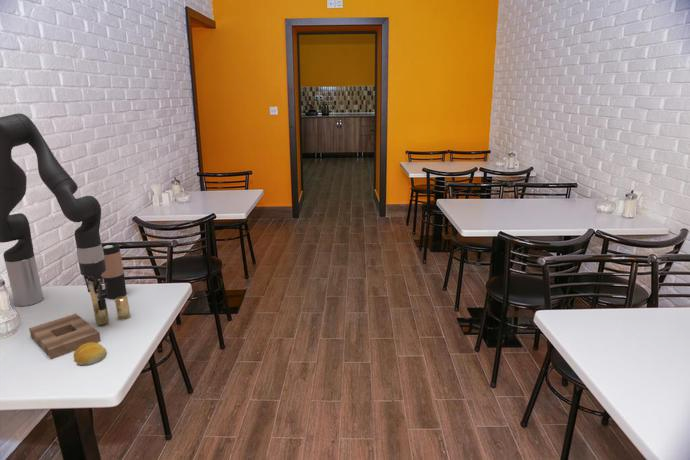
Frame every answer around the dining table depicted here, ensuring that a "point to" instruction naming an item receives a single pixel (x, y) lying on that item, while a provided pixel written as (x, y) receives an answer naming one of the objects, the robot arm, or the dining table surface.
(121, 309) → the short pin
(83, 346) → the bread roll
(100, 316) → the tall pin
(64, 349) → the hole board
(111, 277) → the travel mug
